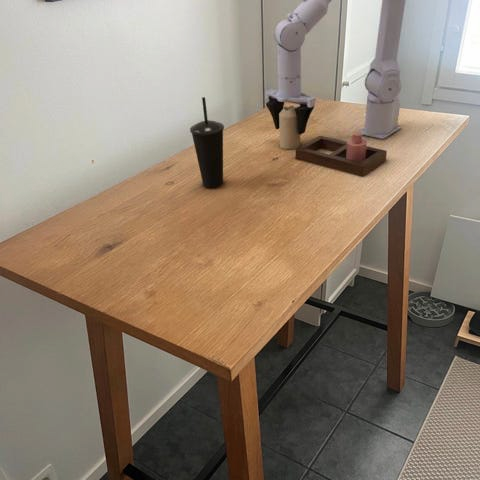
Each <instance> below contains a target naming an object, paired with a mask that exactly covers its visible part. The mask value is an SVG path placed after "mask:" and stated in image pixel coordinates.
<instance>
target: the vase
mask: <svg viewBox="0 0 480 480" xmlns="http://www.w3.org/2000/svg"><path fill="white" fill-rule="evenodd" d="M363 136H364V135H363V133H362V132H359V131H354V132H352V136H351V138H350V139H348V140H347V141H346V142H347V148H346V159H350V160H354V161H358V162H363V161H364V160H366V151H367V146H368V141H367V140H366V139H365V138H363Z"/></svg>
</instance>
